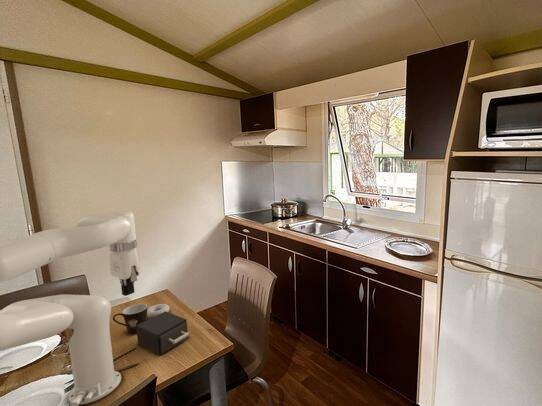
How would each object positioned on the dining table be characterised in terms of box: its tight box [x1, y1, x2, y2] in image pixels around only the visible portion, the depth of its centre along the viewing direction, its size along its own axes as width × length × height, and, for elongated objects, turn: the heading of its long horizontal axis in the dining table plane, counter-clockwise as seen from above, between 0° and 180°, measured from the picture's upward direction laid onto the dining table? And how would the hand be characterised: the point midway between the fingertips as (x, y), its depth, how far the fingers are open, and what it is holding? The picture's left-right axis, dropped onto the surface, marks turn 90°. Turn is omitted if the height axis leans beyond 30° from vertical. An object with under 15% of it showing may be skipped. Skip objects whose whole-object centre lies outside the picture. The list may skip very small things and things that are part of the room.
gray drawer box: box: [136, 311, 188, 356], centre depth 111 cm, size 14×12×9 cm
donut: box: [147, 303, 170, 320], centre depth 131 cm, size 10×3×10 cm
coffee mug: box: [112, 303, 148, 336], centre depth 118 cm, size 12×9×10 cm
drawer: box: [159, 321, 190, 354], centre depth 110 cm, size 17×10×7 cm, turn 65°
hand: (128, 293), depth 100 cm, fingers closed
